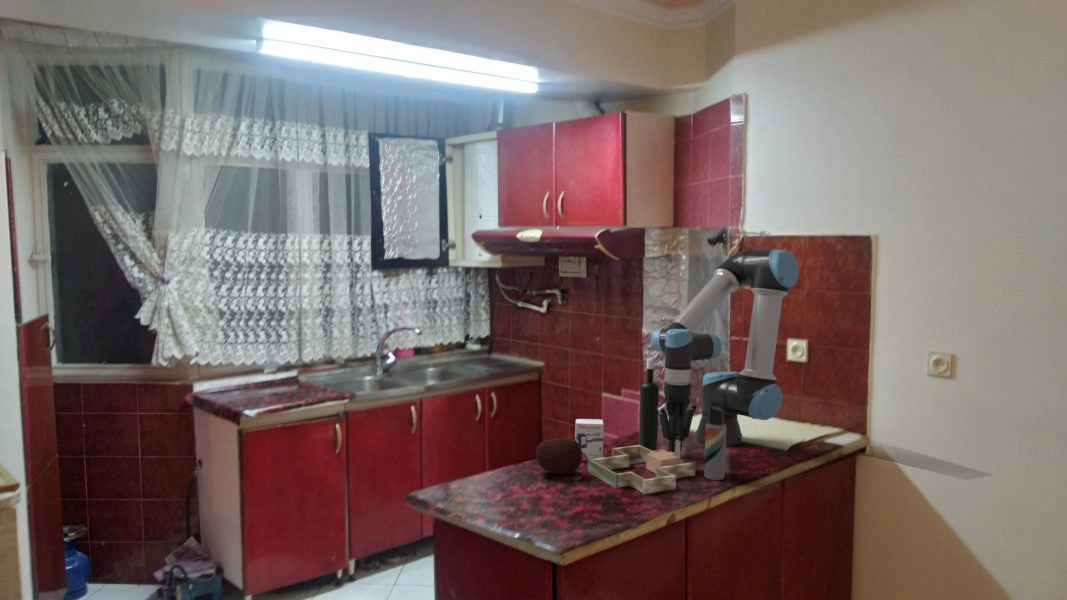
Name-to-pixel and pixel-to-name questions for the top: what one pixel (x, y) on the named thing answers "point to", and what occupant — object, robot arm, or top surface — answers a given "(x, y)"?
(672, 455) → the block
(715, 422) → the lotion bottle
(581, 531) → the top surface
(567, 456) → the potato
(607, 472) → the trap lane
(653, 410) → the wine bottle
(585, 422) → the ink box
